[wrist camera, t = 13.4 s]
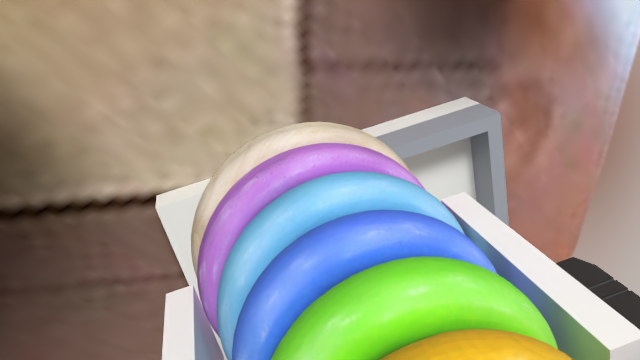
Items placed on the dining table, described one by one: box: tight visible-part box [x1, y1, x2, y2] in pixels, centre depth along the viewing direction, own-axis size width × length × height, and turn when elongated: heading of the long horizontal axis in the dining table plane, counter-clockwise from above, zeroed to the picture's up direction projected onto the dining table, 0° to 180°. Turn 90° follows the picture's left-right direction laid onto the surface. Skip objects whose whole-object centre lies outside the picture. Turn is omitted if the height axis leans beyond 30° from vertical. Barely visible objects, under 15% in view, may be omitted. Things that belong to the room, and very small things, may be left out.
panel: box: [156, 97, 479, 360], centre depth 37 cm, size 23×14×2 cm, turn 104°
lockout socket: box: [375, 103, 509, 227], centre depth 36 cm, size 12×12×2 cm
